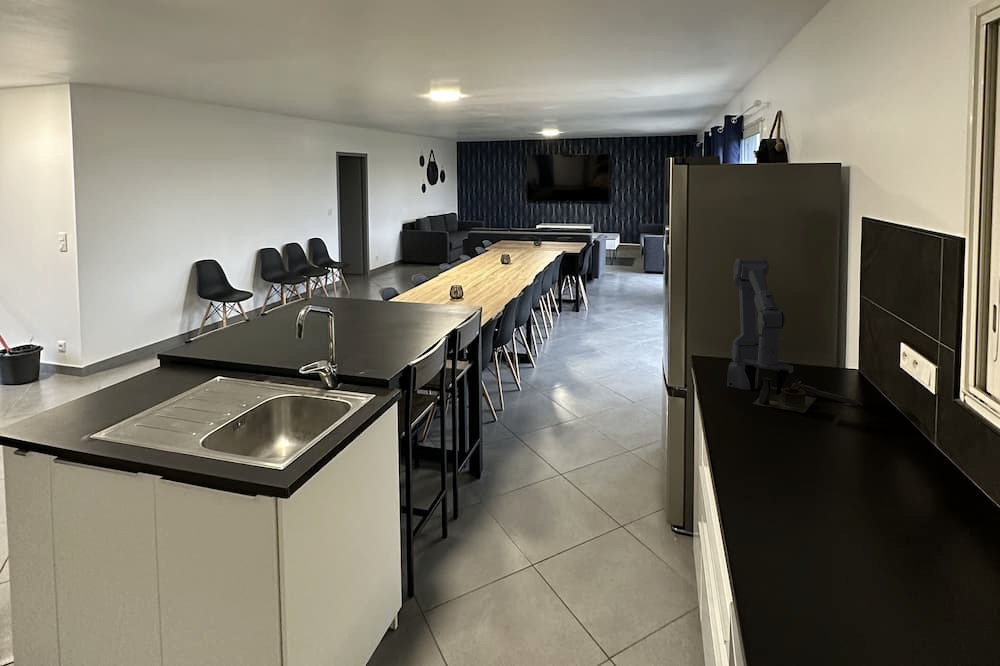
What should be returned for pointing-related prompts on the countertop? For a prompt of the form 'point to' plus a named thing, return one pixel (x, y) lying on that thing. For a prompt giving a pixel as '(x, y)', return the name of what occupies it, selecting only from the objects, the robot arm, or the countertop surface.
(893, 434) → the countertop surface
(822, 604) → the countertop surface
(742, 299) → the robot arm
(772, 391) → the hinge base
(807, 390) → the caliper
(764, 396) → the steel pin
